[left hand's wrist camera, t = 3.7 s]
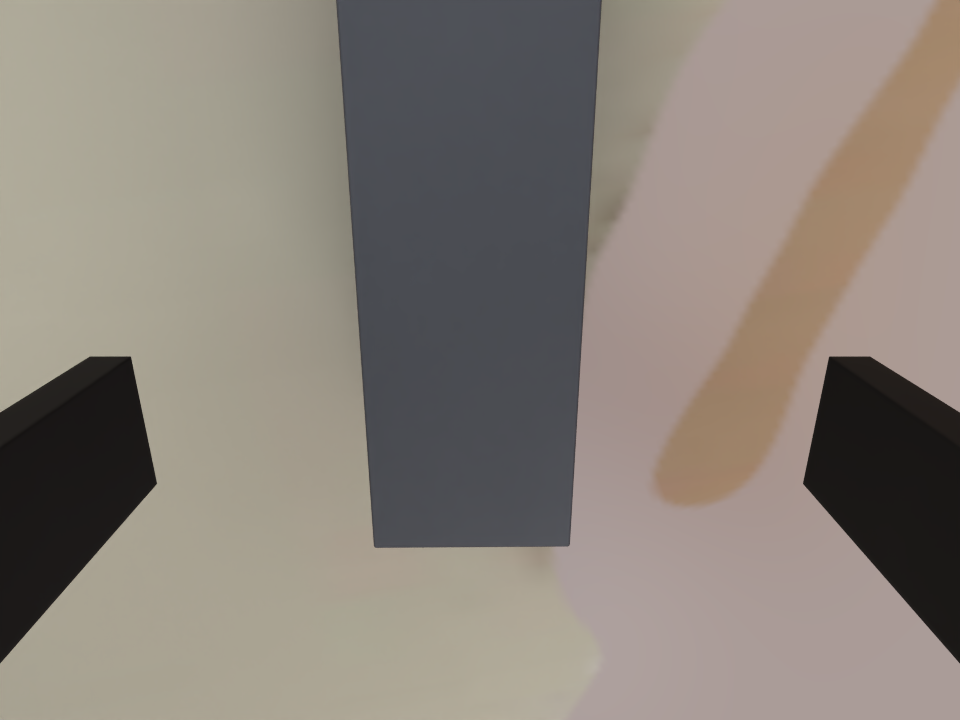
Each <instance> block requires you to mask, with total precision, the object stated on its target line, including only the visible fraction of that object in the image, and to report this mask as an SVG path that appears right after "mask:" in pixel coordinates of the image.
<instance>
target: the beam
mask: <svg viewBox="0 0 960 720" xmlns="http://www.w3.org/2000/svg"><path fill="white" fill-rule="evenodd" d="M601 2H602V0H336V3H337V17H338V32H339V46H340V61H341V75H342V90H343V104H344V119H345V133H346V148H347V162H348V176H349V191H350V205H351V220H352V234H353V249H354V263H355V278H356V292H357V307H358V321H359V336H360V350H361V365H362V379H363V394H364V408H365V423H366V437H367V452H368V466H369V481H370V495H371V509H372V524H373V538H374V547H376V548H400V547H547V546H569V545H570V531H571V514H572V497H573V479H574V463H575V446H576V429H577V412H578V395H579V377H580V361H581V344H582V326H583V309H584V292H585V275H586V258H587V241H588V224H589V207H590V190H591V173H592V156H593V139H594V122H595V105H596V88H597V71H598V53H599V36H600V19H601Z"/></svg>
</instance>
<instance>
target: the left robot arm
mask: <svg viewBox="0 0 960 720" xmlns="http://www.w3.org/2000/svg"><path fill="white" fill-rule="evenodd" d="M156 484H157V482H156V477H155V472H154V467H153V462H152V457H151V452H150V448H149V443H148V438H147V433H146V428H145V423H144V418H143V414H142V409H141V404H140V399H139V394H138V389H137V384H136V380H135V375H134V370H133V365H132V360H131V357H89V358H87V359H85V360H84V361H82V362H81V363H79V364H77V365H76V366H74V367H73V368H71V369H69V370H68V371H66V372H65V373H63V374H61V375H60V376H58V377H57V378H55V379H53V380H52V381H50V382H49V383H47V384H45V385H44V386H42V387H41V388H39V389H37V390H36V391H34V392H32V393H31V394H29V395H28V396H26V397H24V398H23V399H21V400H20V401H18V402H16V403H15V404H13V405H12V406H10V407H8V408H7V409H5V410H4V411H2V412H0V663H1V662H2V661H3V660H4V658H5V657H6V656H7V655H8V654H9V653H10V651H11V650H12V649H13V648H14V647H15V646H16V645H17V643H18V642H19V641H20V640H21V639H22V638H23V637H24V635H25V634H26V633H27V632H28V631H29V630H30V629H31V627H32V626H33V625H34V624H35V623H36V622H37V621H38V619H39V618H40V617H41V616H42V615H43V614H44V613H45V611H46V610H47V609H48V608H49V607H50V606H51V605H52V603H53V602H54V601H55V600H56V599H57V598H58V596H59V595H60V594H61V593H62V592H63V591H64V590H65V588H66V587H67V586H68V585H69V584H70V583H71V582H72V580H73V579H74V578H75V577H76V576H77V575H78V574H79V572H80V571H81V570H82V569H83V568H84V567H85V566H86V564H87V563H88V562H89V561H90V560H91V559H92V558H93V556H94V555H95V554H96V553H97V552H98V551H99V550H100V548H101V547H102V546H103V545H104V544H105V543H106V541H107V540H108V539H109V538H110V537H111V536H112V535H113V533H114V532H115V531H116V530H117V529H118V528H119V527H120V525H121V524H122V523H123V522H124V521H125V520H126V519H127V517H128V516H129V515H130V514H131V513H132V512H133V511H134V509H135V508H136V507H137V506H138V505H139V504H140V503H141V501H142V500H143V499H144V498H145V497H146V496H147V495H148V493H149V492H150V491H151V490H152V489H153V488H154V486H155V485H156ZM803 484H804V485H805V486H806V488H807V489H808V490H809V491H810V492H811V493H812V494H813V496H814V497H815V498H816V499H817V500H818V501H819V503H820V504H821V505H822V506H823V507H824V508H825V509H826V510H827V512H828V513H829V514H830V515H831V516H832V517H833V519H834V520H835V521H836V522H837V523H838V524H839V525H840V527H841V528H842V529H843V530H844V531H845V532H846V533H847V535H848V536H849V537H850V538H851V539H852V540H853V541H854V543H855V544H856V545H857V546H858V547H859V548H860V550H861V551H862V552H863V553H864V554H865V555H866V556H867V558H868V559H869V560H870V561H871V562H872V563H873V564H874V565H875V567H876V568H877V569H878V570H879V571H880V572H881V574H882V575H883V576H884V577H885V578H886V579H887V580H888V581H889V583H890V584H891V585H892V586H893V587H894V588H895V590H896V591H897V592H898V593H899V594H900V595H901V596H902V598H903V599H904V600H905V601H906V602H907V603H908V604H909V606H910V607H911V608H912V609H913V610H914V611H915V612H916V614H917V615H918V616H919V617H920V618H921V619H922V621H923V622H924V623H925V624H926V625H927V626H928V627H929V629H930V630H931V631H932V632H933V633H934V634H935V635H936V637H937V638H938V639H939V640H940V641H941V642H942V643H943V645H944V646H945V647H946V648H947V649H948V650H949V651H950V653H951V654H952V655H953V656H954V657H955V658H956V660H957V661H958V662H959V663H960V412H958V411H956V410H955V409H953V408H952V407H950V406H948V405H947V404H945V403H944V402H942V401H940V400H939V399H937V398H936V397H934V396H932V395H931V394H929V393H928V392H926V391H924V390H923V389H921V388H919V387H918V386H916V385H915V384H913V383H911V382H910V381H908V380H907V379H905V378H903V377H902V376H900V375H899V374H897V373H895V372H894V371H892V370H891V369H889V368H887V367H886V366H884V365H883V364H881V363H879V362H878V361H876V360H875V359H873V358H871V357H829V360H828V365H827V370H826V375H825V380H824V384H823V389H822V394H821V399H820V404H819V409H818V414H817V418H816V423H815V428H814V433H813V438H812V443H811V448H810V453H809V457H808V462H807V467H806V472H805V477H804V482H803Z"/></svg>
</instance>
